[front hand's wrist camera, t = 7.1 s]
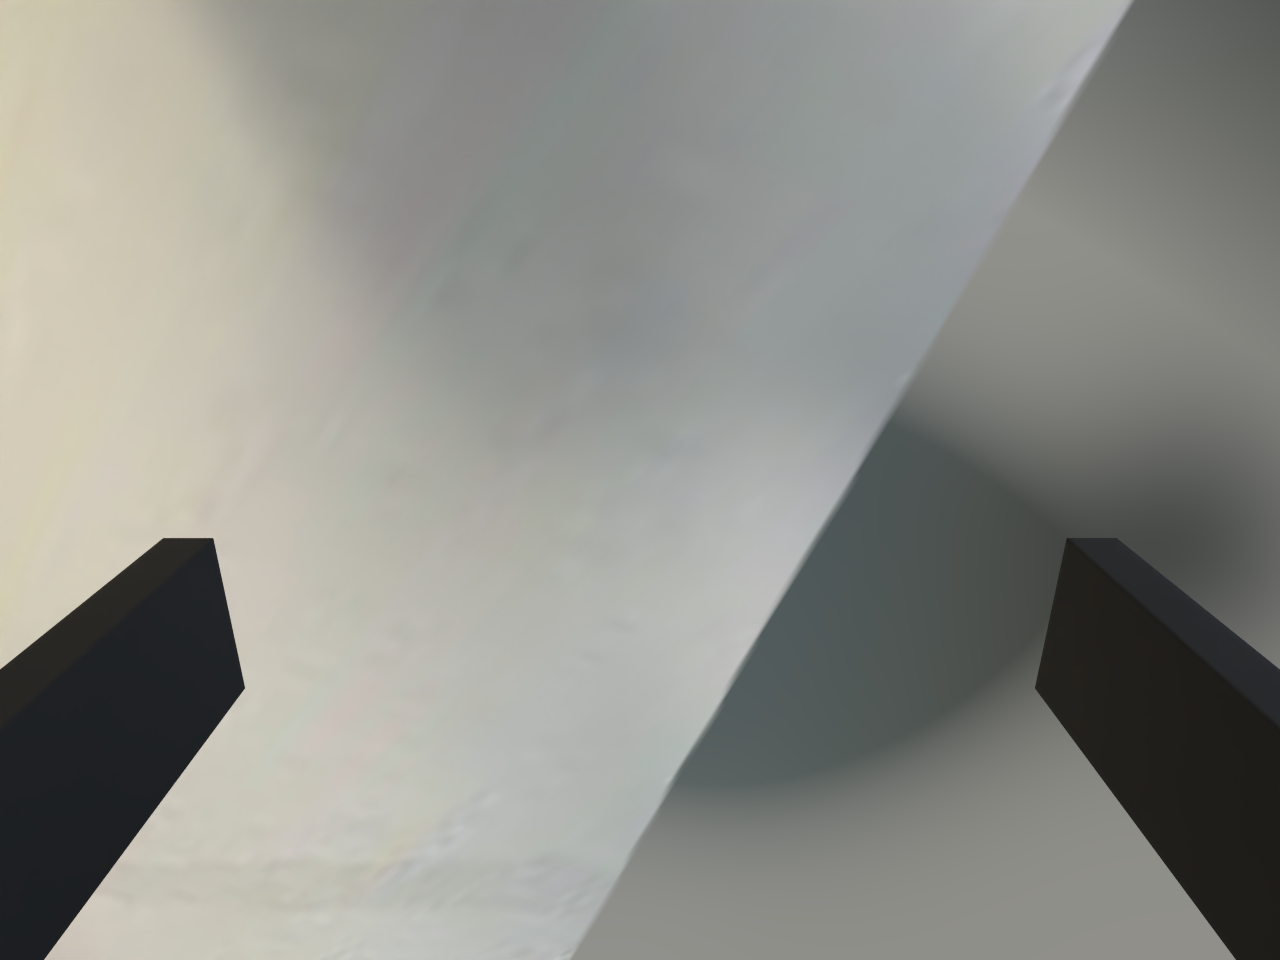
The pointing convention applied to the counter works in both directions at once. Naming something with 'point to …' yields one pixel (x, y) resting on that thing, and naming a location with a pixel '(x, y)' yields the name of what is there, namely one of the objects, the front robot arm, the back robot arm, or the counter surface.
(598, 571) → the counter surface
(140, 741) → the front robot arm
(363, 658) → the counter surface
